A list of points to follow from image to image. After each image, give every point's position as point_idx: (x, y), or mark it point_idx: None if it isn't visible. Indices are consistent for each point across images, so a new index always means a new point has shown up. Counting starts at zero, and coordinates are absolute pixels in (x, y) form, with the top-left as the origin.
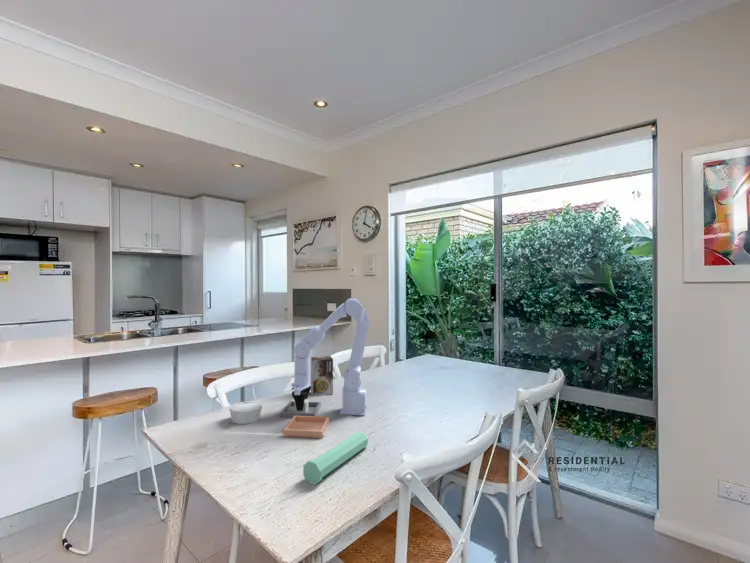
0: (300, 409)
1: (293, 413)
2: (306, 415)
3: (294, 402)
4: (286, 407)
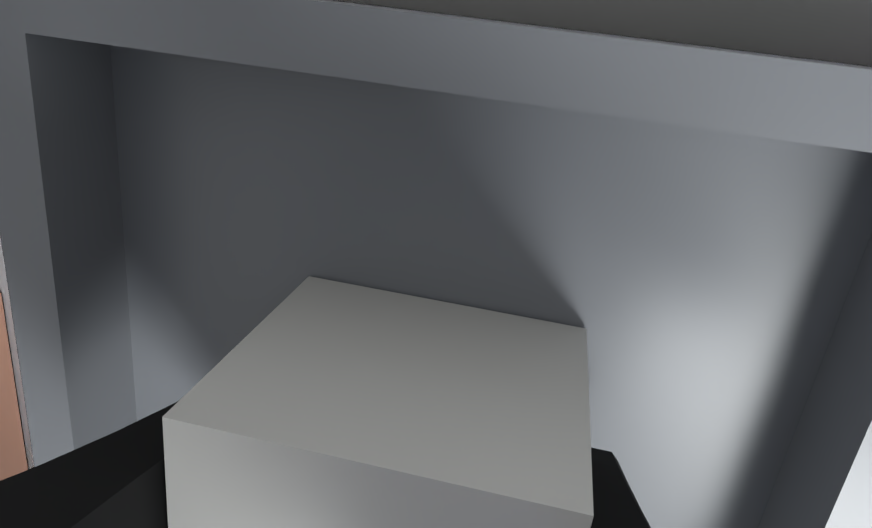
0: None
1: (18, 310)
2: None
3: (166, 417)
4: (362, 76)
